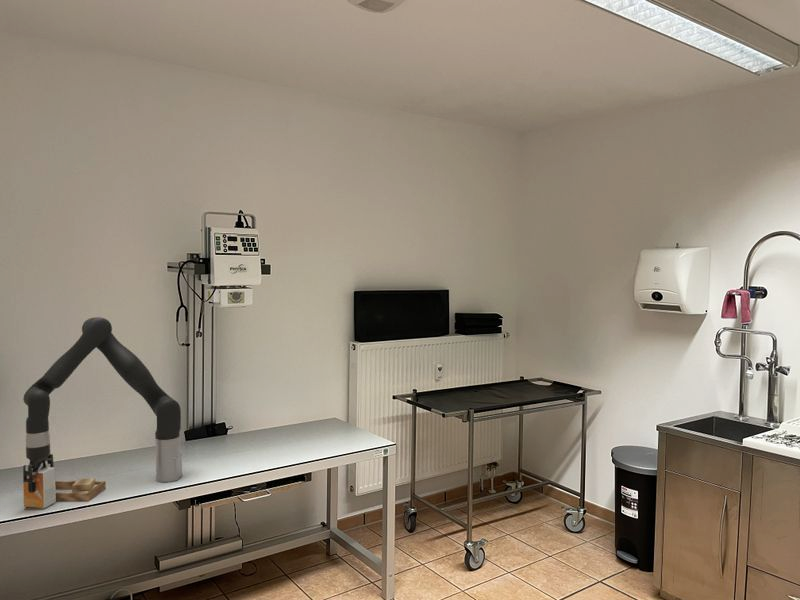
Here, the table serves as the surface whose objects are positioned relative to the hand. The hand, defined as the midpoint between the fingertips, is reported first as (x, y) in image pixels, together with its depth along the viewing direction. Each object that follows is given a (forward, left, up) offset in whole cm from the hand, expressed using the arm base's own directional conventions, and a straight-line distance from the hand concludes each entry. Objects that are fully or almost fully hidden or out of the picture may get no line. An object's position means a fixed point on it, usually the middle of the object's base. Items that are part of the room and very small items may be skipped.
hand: (39, 487), depth 218 cm
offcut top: (-10, -11, -4) cm, 16 cm away
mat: (0, 0, -7) cm, 7 cm away
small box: (0, 0, -6) cm, 6 cm away
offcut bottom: (-11, -11, -7) cm, 17 cm away
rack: (-4, -10, -7) cm, 13 cm away
